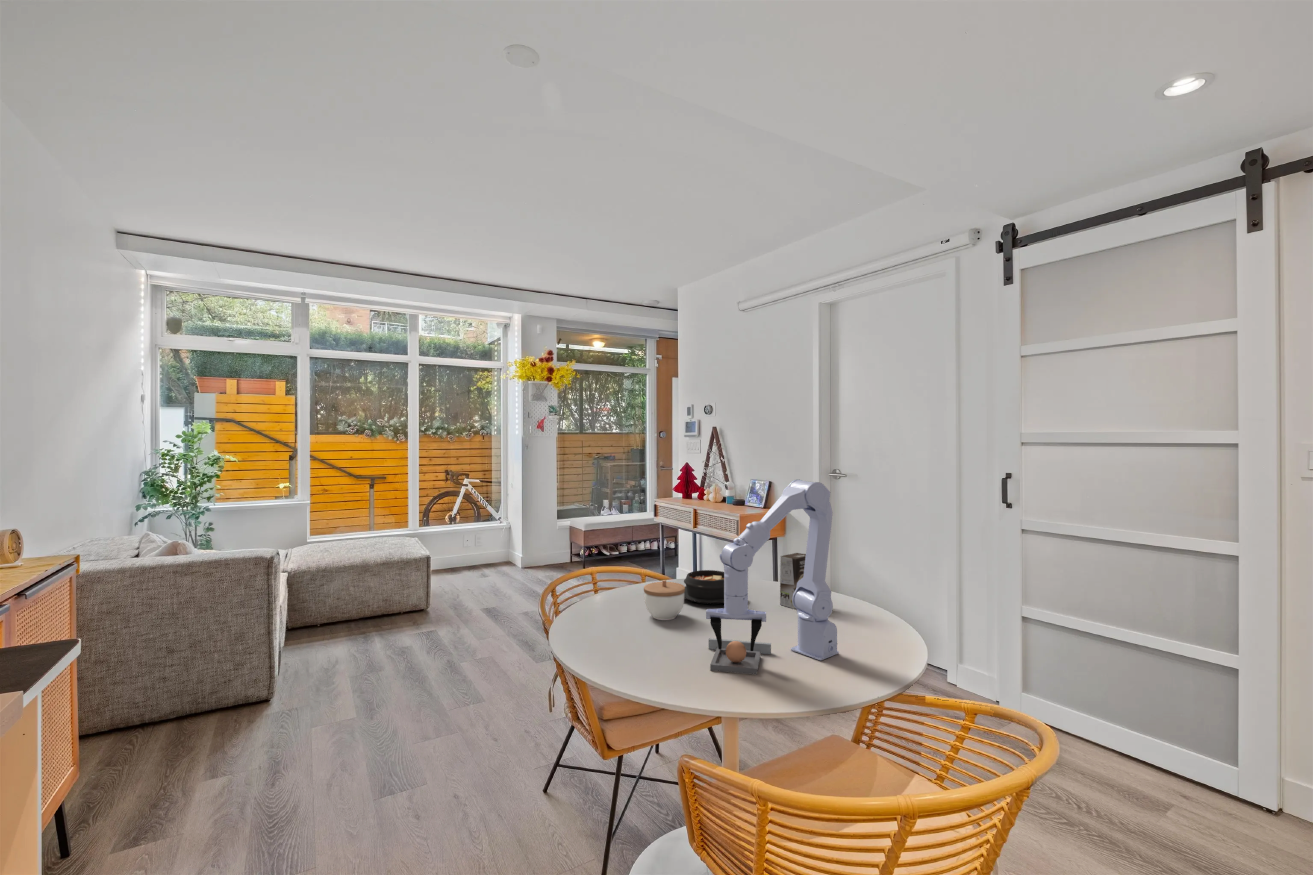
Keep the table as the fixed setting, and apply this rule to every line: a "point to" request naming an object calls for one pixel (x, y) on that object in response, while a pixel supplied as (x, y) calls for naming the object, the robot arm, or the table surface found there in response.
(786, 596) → the coffee box
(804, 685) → the table surface
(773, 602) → the table surface
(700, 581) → the casserole
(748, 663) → the coaster
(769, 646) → the divider
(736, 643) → the ball
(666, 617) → the lidded bowl
